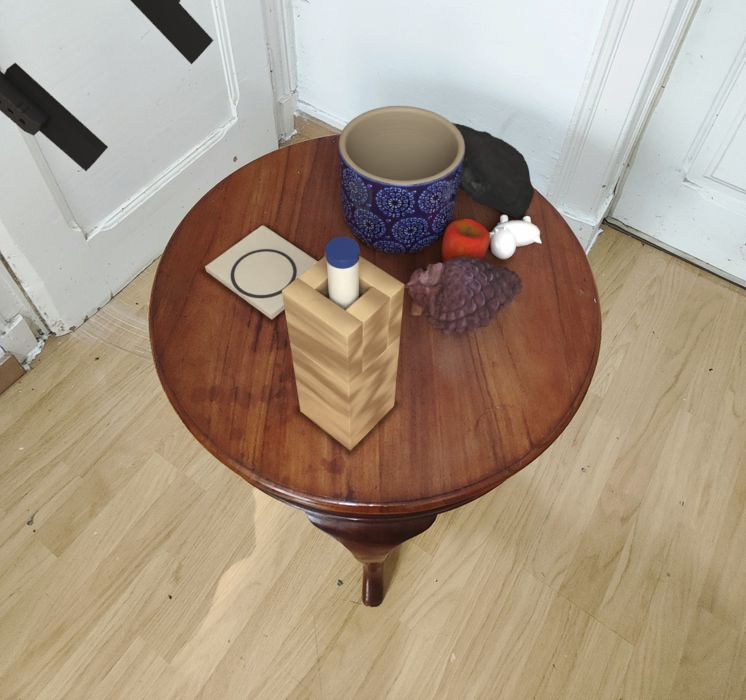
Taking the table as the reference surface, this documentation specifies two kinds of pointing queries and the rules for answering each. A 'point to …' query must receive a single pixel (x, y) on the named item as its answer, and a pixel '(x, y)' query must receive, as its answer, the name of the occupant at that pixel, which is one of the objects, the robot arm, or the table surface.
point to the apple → (465, 240)
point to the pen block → (345, 350)
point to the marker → (343, 271)
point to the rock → (495, 173)
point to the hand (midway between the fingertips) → (154, 102)
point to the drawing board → (261, 269)
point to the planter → (399, 177)
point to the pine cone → (462, 293)
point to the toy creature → (512, 236)
